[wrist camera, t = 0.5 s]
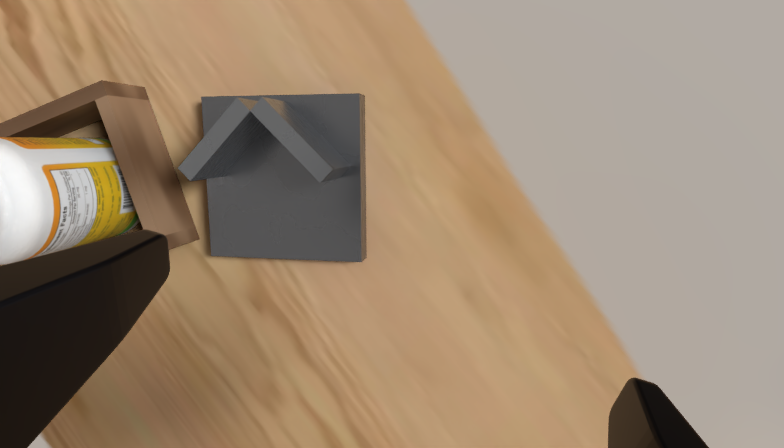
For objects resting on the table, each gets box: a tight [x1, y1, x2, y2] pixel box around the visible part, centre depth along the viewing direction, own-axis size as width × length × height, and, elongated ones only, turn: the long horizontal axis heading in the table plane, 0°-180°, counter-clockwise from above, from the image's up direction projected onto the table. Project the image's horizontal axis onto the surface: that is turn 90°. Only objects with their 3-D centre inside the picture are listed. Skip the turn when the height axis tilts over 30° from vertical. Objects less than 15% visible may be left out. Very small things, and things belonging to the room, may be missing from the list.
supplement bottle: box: [0, 137, 140, 265], centre depth 23 cm, size 5×5×10 cm
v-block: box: [178, 94, 366, 262], centre depth 24 cm, size 8×8×4 cm
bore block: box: [0, 80, 199, 255], centre depth 26 cm, size 8×8×3 cm
